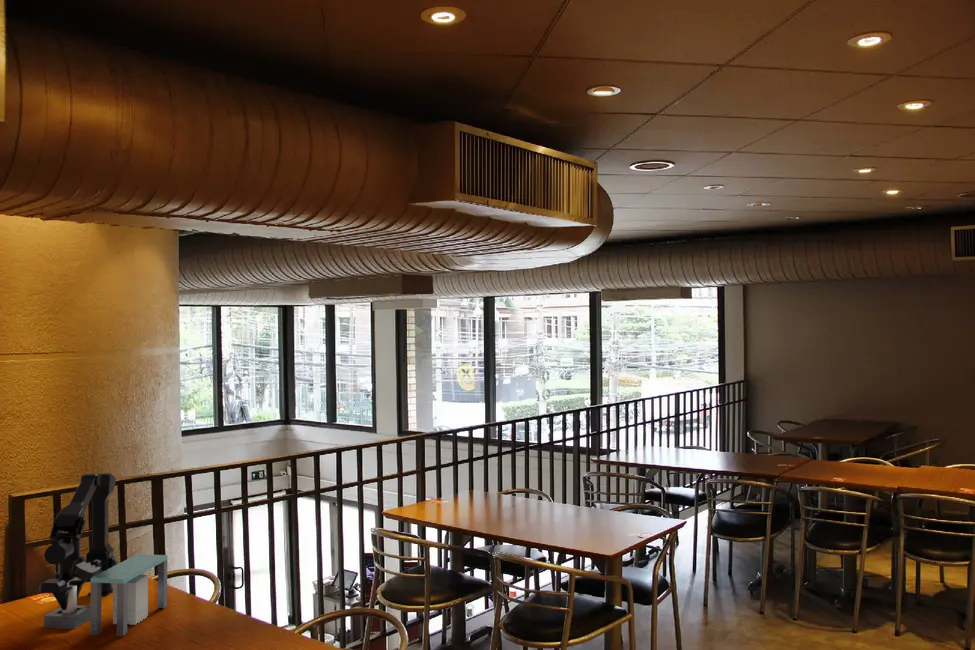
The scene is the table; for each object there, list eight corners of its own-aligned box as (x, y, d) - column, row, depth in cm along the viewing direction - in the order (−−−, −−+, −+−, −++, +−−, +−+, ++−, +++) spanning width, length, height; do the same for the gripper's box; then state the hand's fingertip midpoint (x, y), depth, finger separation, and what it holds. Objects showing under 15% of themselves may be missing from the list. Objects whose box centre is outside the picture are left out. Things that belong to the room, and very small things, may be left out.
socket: (64, 616, 239) (64, 604, 239) (92, 617, 238) (93, 605, 238) (44, 627, 229) (44, 615, 229) (73, 629, 228) (73, 617, 228)
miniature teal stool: (137, 605, 248) (137, 554, 248) (167, 607, 247) (167, 555, 247) (90, 634, 224) (90, 578, 224) (123, 636, 223) (123, 579, 223)
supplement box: (148, 616, 239) (149, 574, 239) (135, 625, 232) (135, 582, 232) (125, 615, 240) (126, 573, 240) (111, 624, 232) (112, 581, 232)
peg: (67, 611, 236) (67, 584, 236) (79, 611, 235) (79, 585, 235) (58, 616, 232) (58, 588, 232) (71, 616, 231) (71, 589, 231)
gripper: (75, 565, 223) (74, 620, 223) (113, 547, 242) (113, 597, 242) (38, 563, 225) (38, 618, 225) (79, 545, 243) (79, 596, 243)
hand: (69, 607), depth 234 cm, fingers closed on peg, 4 cm apart
